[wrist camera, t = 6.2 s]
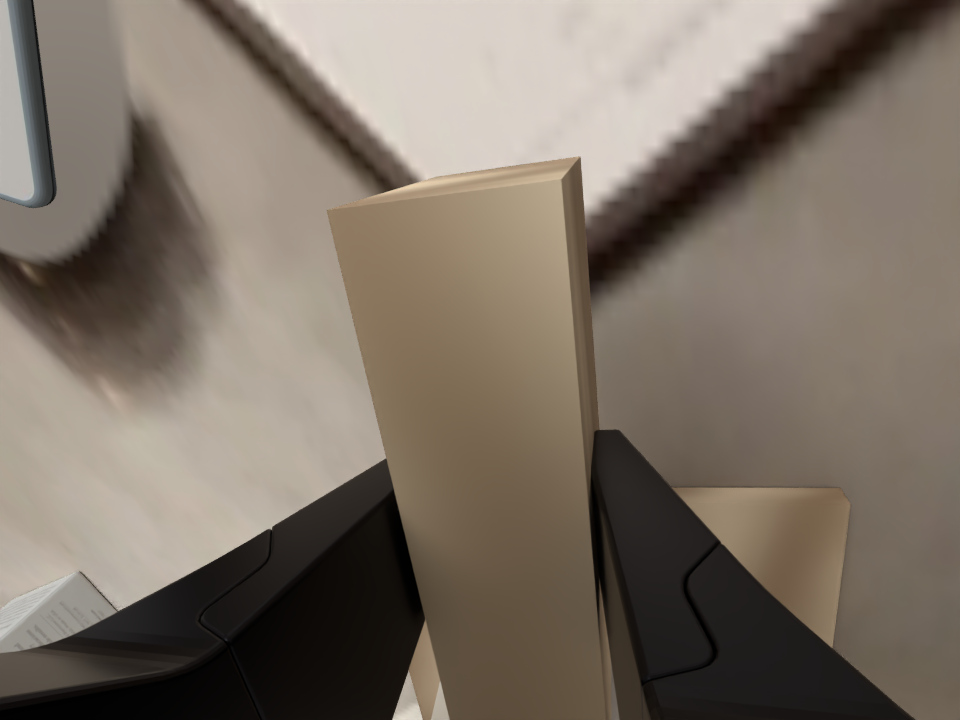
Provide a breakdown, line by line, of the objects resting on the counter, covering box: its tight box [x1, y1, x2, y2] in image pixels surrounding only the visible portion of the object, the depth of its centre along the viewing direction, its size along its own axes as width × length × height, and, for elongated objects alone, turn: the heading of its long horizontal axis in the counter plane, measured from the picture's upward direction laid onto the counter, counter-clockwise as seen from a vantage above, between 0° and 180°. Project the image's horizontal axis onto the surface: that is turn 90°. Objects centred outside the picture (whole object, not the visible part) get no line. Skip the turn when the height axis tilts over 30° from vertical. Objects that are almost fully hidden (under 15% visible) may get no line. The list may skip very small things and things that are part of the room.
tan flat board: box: [409, 488, 851, 720], centre depth 21 cm, size 16×14×1 cm
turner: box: [327, 157, 620, 720], centre depth 10 cm, size 5×14×4 cm, turn 8°
